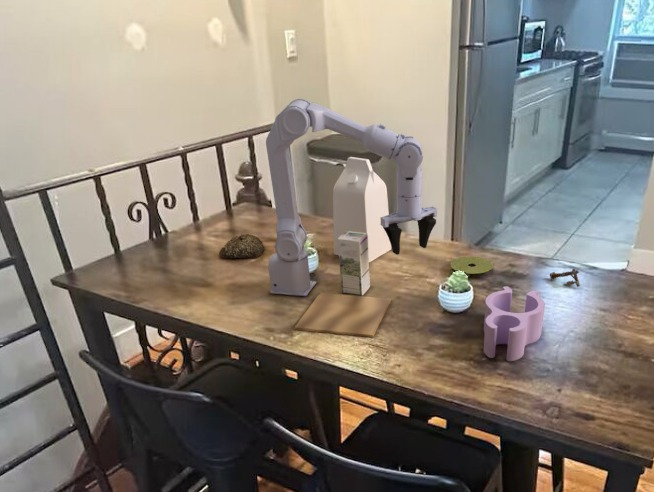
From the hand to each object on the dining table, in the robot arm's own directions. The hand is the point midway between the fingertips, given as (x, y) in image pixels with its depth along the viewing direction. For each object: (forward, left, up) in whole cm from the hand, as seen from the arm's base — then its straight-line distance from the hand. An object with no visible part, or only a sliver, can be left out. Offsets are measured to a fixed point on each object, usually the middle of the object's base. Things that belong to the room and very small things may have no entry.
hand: (409, 249), depth 145 cm
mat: (+14, +13, -10) cm, 22 cm away
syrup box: (-13, -4, -10) cm, 17 cm away
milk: (-18, +21, -10) cm, 30 cm away
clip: (+26, -20, -10) cm, 34 cm away
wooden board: (-12, -17, -10) cm, 23 cm away
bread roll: (-52, +15, -10) cm, 55 cm away
